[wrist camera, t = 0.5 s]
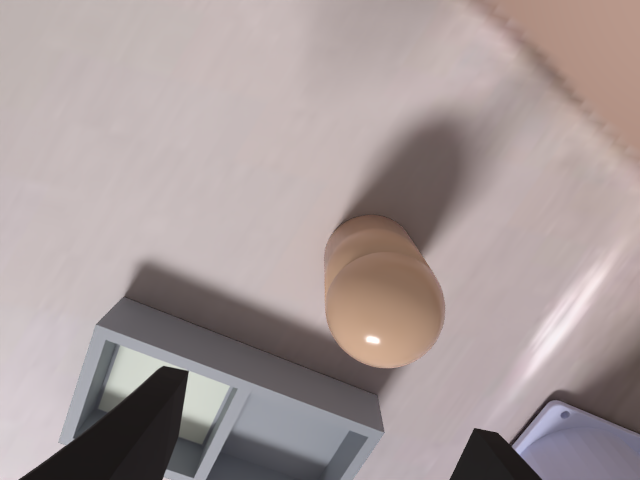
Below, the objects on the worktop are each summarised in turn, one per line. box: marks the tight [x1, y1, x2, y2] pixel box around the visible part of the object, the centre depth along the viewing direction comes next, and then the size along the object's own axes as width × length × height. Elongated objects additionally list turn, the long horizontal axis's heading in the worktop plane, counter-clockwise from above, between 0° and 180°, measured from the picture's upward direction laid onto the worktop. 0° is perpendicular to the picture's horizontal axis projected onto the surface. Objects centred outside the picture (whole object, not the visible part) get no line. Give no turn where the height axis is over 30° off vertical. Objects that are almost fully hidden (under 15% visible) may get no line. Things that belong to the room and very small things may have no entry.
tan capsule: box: [324, 215, 445, 368], centre depth 16 cm, size 4×4×7 cm
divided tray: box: [58, 297, 385, 480], centre depth 21 cm, size 15×8×3 cm, turn 65°
